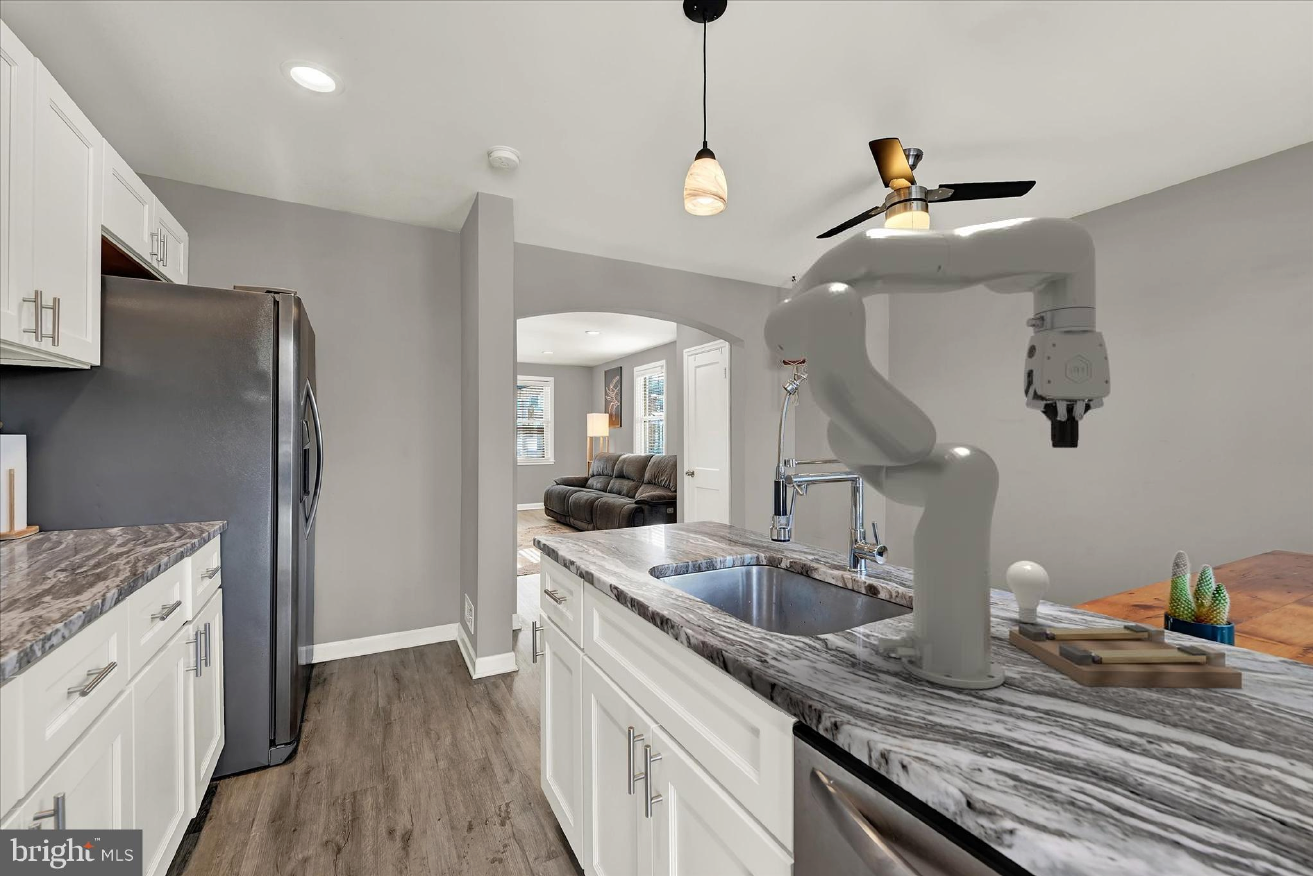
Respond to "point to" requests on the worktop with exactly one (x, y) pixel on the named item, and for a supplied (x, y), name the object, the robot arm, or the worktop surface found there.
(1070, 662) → the board
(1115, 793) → the worktop surface
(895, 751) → the worktop surface
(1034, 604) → the lightbulb
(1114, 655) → the front bar
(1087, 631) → the back bar
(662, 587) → the worktop surface
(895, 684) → the worktop surface
